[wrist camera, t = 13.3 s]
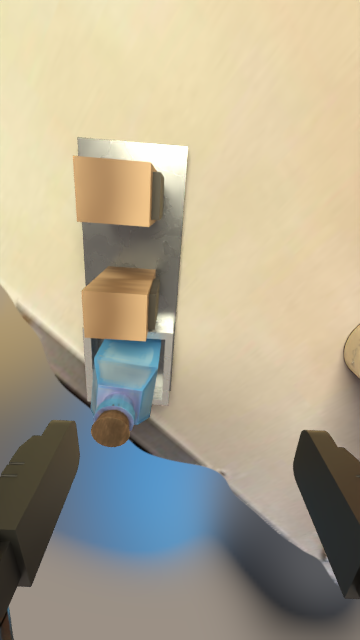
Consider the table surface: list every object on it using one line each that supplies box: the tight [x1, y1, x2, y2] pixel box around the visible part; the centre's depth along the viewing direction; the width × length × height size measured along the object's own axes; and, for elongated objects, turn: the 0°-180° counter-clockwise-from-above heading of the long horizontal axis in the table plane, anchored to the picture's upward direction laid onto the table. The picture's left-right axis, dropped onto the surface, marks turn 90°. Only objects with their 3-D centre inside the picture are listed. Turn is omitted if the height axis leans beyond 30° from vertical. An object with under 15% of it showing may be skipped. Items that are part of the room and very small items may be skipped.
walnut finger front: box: [73, 156, 164, 227], centre depth 23 cm, size 6×4×9 cm
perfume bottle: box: [91, 339, 161, 447], centre depth 28 cm, size 6×6×12 cm
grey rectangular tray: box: [77, 137, 188, 406], centre depth 30 cm, size 10×27×4 cm, turn 176°
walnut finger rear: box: [82, 266, 160, 341], centre depth 26 cm, size 6×4×9 cm
